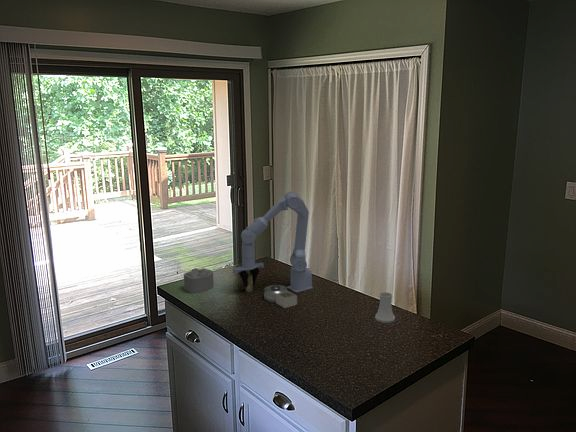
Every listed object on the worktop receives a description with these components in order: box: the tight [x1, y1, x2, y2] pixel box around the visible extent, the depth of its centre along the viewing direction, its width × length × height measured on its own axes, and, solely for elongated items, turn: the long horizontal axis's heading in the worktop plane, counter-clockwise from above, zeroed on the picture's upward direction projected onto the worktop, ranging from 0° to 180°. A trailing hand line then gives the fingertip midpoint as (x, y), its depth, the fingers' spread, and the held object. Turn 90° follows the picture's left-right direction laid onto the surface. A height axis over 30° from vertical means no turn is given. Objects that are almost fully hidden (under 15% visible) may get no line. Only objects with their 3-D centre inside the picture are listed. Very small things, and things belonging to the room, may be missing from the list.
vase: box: [374, 292, 396, 324], centre depth 182 cm, size 8×8×10 cm
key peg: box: [245, 272, 254, 293], centre depth 212 cm, size 3×3×8 cm
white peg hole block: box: [263, 284, 298, 309], centre depth 201 cm, size 16×10×5 cm, turn 35°
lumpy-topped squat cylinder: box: [183, 267, 215, 295], centre depth 217 cm, size 10×13×9 cm
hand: (249, 285), depth 212 cm, fingers closed on key peg, 3 cm apart
